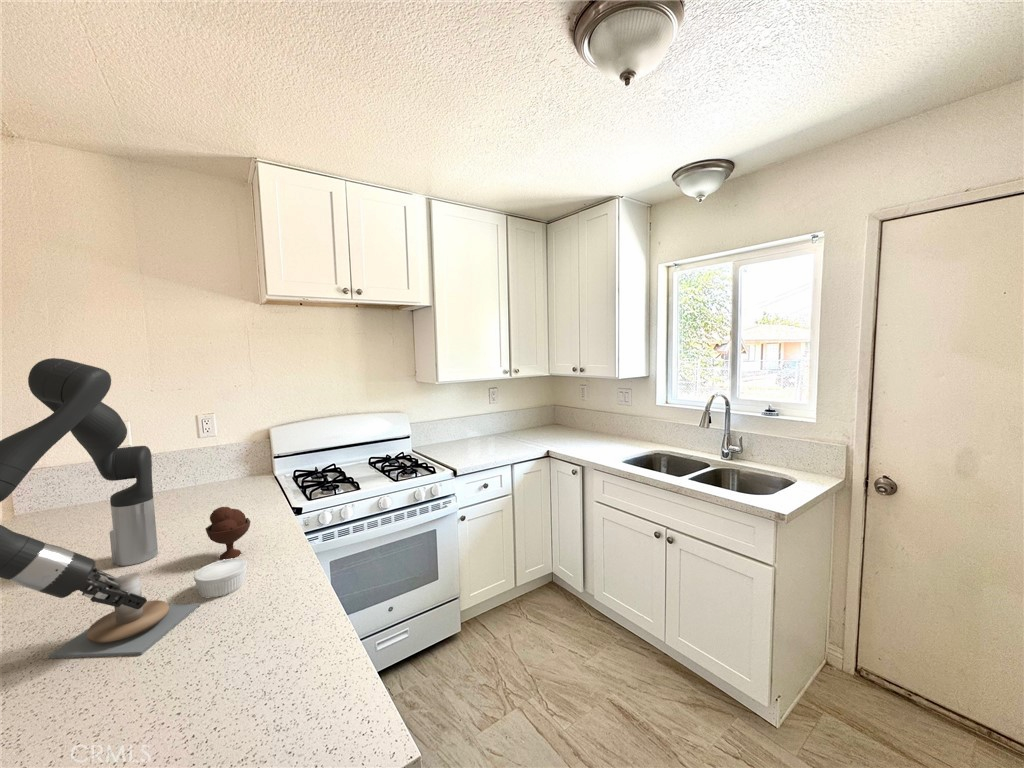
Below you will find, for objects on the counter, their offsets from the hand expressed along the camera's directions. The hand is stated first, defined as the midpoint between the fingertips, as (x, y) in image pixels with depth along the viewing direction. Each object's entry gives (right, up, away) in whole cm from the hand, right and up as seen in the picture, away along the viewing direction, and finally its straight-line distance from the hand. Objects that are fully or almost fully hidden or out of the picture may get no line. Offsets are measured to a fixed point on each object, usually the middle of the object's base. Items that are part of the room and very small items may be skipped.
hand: (140, 599), depth 91 cm
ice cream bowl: (-2, -4, +32) cm, 32 cm away
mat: (-1, -6, -1) cm, 6 cm away
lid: (-1, -4, -1) cm, 4 cm away
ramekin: (+8, -5, +15) cm, 17 cm away
